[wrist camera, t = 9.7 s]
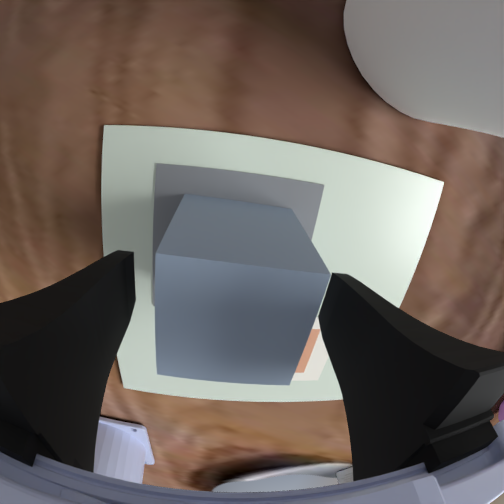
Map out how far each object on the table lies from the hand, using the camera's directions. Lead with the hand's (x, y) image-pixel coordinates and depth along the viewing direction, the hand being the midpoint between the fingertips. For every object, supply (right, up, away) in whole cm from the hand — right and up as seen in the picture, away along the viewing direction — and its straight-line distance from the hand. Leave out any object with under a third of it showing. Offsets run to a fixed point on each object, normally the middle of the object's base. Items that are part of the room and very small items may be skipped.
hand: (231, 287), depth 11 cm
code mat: (+1, -1, +5) cm, 5 cm away
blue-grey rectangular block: (0, +1, +3) cm, 3 cm away
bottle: (+9, +11, -1) cm, 14 cm away
